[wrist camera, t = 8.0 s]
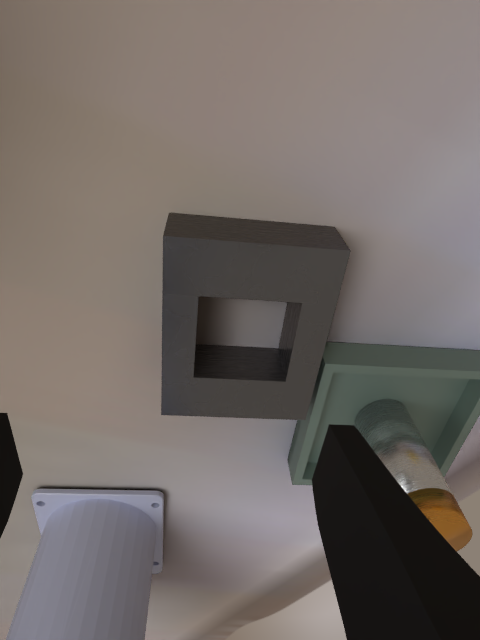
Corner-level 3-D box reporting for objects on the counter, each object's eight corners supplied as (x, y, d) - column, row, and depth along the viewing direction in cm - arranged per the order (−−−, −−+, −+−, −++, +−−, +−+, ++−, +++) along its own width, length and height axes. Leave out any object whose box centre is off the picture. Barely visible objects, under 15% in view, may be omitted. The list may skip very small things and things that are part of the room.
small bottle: (416, 402, 23) (485, 523, 17) (394, 439, 25) (451, 561, 19) (366, 395, 23) (419, 518, 17) (346, 434, 24) (389, 557, 19)
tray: (425, 463, 27) (438, 487, 26) (287, 459, 26) (292, 484, 25) (483, 350, 22) (503, 372, 21) (317, 341, 21) (325, 363, 20)
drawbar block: (297, 385, 23) (305, 420, 21) (166, 379, 22) (161, 414, 20) (334, 226, 18) (350, 250, 16) (168, 212, 17) (163, 235, 15)
